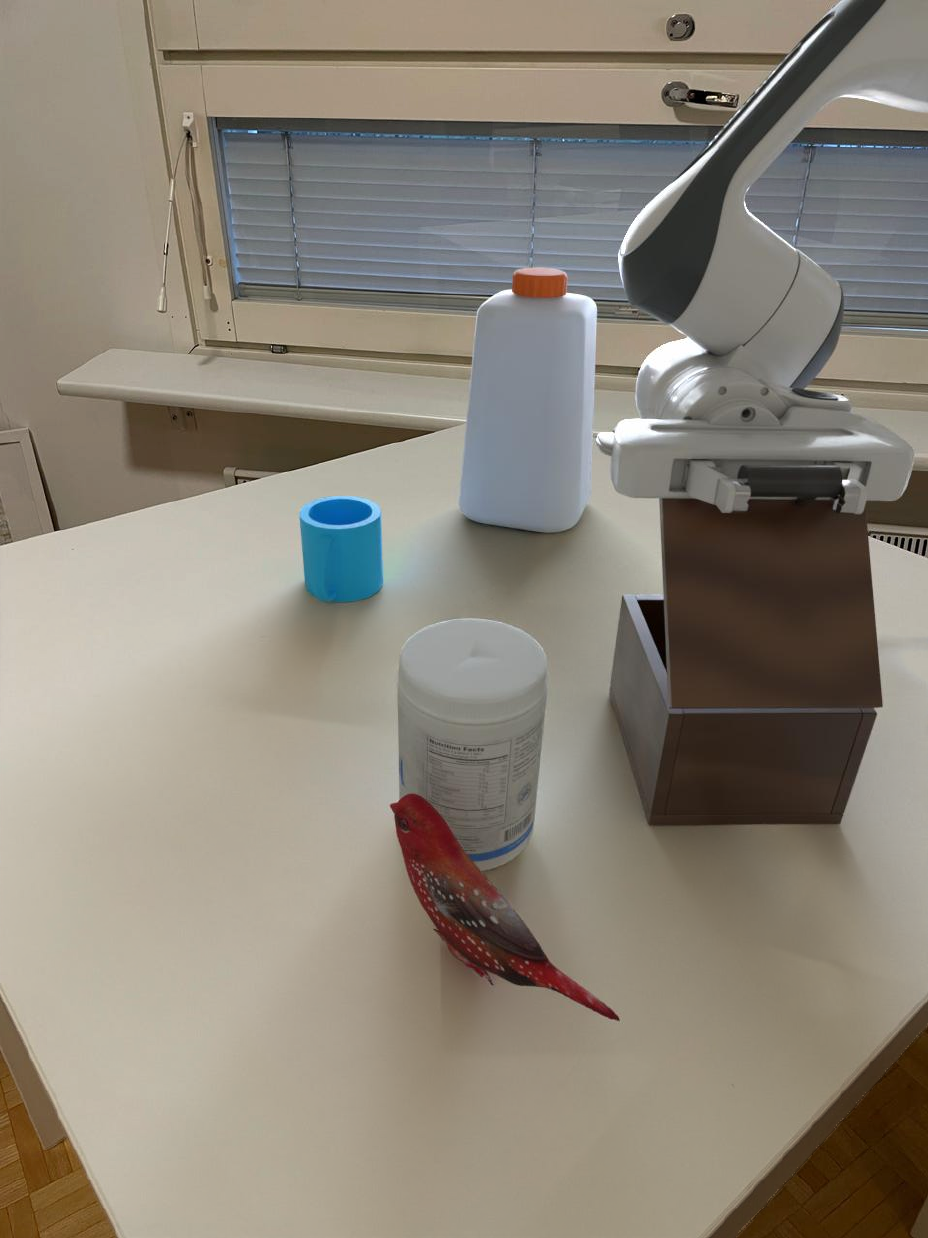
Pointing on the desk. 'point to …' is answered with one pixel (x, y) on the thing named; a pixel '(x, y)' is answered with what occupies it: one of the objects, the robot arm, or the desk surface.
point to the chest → (726, 743)
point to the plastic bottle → (531, 406)
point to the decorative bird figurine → (474, 907)
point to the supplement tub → (474, 731)
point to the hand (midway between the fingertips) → (797, 502)
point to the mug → (342, 548)
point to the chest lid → (770, 598)
